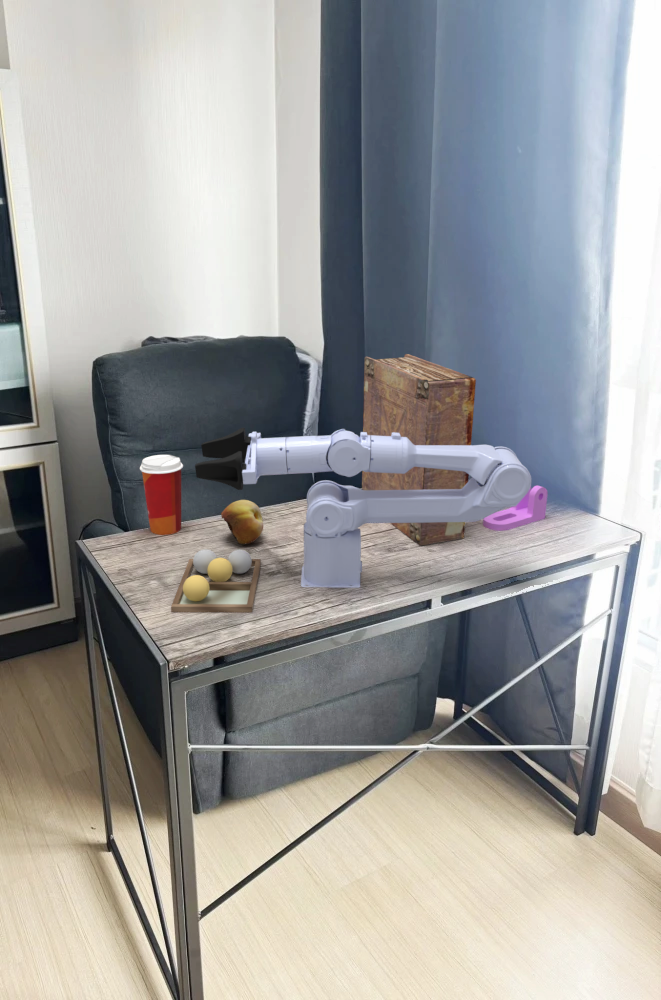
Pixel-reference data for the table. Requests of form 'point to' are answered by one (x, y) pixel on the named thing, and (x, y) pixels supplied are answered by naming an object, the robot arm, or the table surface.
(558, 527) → the table surface
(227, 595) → the sorting board
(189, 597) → the ochre ball
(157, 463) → the paper cup
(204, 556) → the grey ball
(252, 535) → the fruit
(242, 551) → the grey ball
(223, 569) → the ochre ball
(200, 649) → the table surface
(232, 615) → the table surface
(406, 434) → the book
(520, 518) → the bracket
